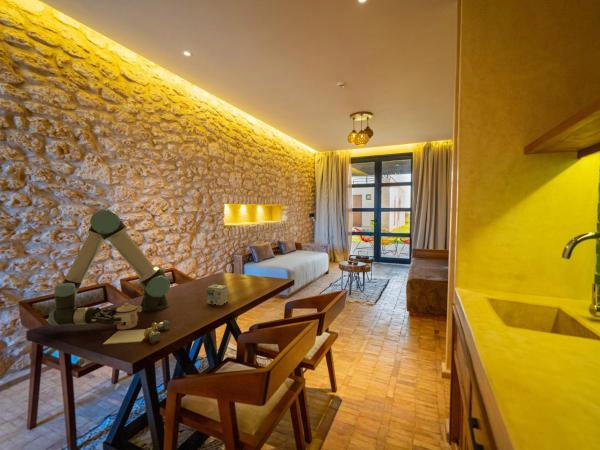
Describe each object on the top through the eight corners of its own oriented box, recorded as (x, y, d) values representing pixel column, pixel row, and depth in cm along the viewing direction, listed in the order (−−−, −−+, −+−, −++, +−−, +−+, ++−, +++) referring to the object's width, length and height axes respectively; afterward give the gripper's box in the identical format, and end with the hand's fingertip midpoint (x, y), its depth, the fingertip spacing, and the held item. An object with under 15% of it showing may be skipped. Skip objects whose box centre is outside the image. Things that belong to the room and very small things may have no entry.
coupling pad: (118, 331, 132) (118, 330, 132) (152, 329, 134) (151, 328, 134) (103, 344, 119) (103, 343, 119) (141, 341, 121) (140, 340, 121)
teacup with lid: (111, 328, 136) (111, 304, 136) (129, 321, 144) (129, 299, 144) (128, 332, 131) (127, 308, 131) (145, 325, 140) (145, 302, 139)
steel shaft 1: (161, 340, 123) (161, 329, 123) (151, 343, 120) (151, 333, 119) (153, 336, 127) (153, 326, 127) (143, 339, 123) (143, 329, 123)
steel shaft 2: (165, 326, 138) (164, 317, 138) (169, 329, 135) (169, 319, 135) (151, 331, 132) (151, 321, 132) (155, 333, 130) (155, 324, 130)
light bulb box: (206, 303, 174) (206, 286, 173) (213, 300, 180) (213, 284, 180) (221, 305, 170) (221, 288, 170) (227, 302, 177) (227, 285, 176)
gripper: (102, 314, 147) (145, 312, 150) (71, 334, 123) (124, 331, 126) (102, 300, 147) (145, 298, 150) (71, 317, 122) (123, 314, 126)
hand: (135, 313), depth 138 cm, fingers open, 13 cm apart
